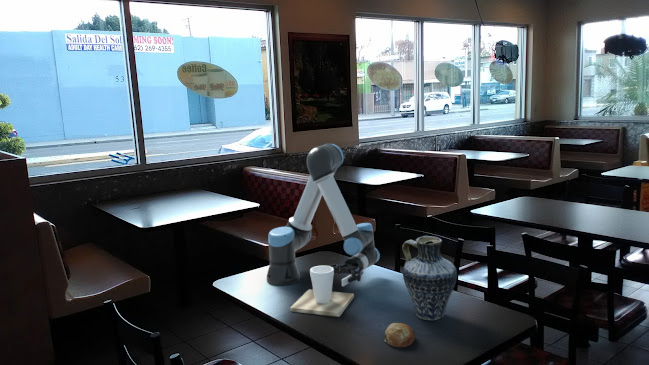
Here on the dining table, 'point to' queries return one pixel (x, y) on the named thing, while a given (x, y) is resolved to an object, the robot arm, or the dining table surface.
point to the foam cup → (322, 283)
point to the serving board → (322, 304)
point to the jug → (428, 277)
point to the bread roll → (399, 335)
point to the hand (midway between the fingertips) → (328, 280)
